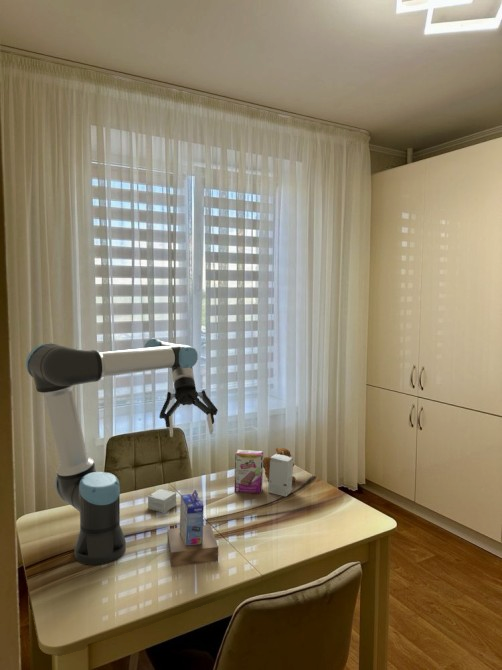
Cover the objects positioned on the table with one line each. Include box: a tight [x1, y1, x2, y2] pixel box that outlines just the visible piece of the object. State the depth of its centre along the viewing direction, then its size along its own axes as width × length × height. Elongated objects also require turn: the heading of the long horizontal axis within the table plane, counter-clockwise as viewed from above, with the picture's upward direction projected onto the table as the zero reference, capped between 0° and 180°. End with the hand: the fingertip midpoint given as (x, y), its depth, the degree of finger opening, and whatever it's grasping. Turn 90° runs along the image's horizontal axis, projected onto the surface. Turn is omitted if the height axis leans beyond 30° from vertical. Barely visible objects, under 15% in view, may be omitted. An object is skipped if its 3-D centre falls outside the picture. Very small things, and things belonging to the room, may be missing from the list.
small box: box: [147, 488, 177, 514], centre depth 177 cm, size 8×8×5 cm
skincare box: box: [267, 453, 295, 498], centre depth 191 cm, size 8×6×15 cm
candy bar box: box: [234, 449, 264, 495], centre depth 192 cm, size 11×5×16 cm, turn 84°
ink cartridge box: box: [179, 489, 204, 546], centre depth 146 cm, size 10×6×14 cm, turn 20°
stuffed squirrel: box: [263, 447, 297, 482], centre depth 205 cm, size 10×14×13 cm
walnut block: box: [166, 524, 219, 568], centre depth 147 cm, size 14×14×5 cm
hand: (191, 433), depth 160 cm, fingers open, 13 cm apart
